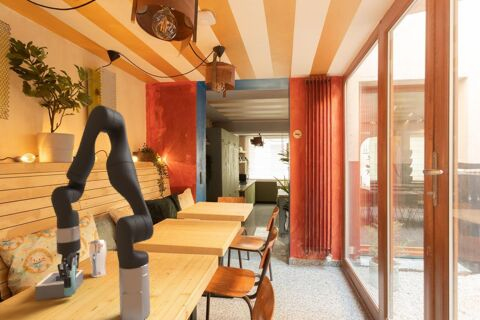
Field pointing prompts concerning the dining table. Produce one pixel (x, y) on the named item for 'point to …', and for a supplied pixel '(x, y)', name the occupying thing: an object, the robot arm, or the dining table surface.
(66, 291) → the plug
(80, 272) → the socket block
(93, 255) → the tumbler
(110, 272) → the dining table surface
